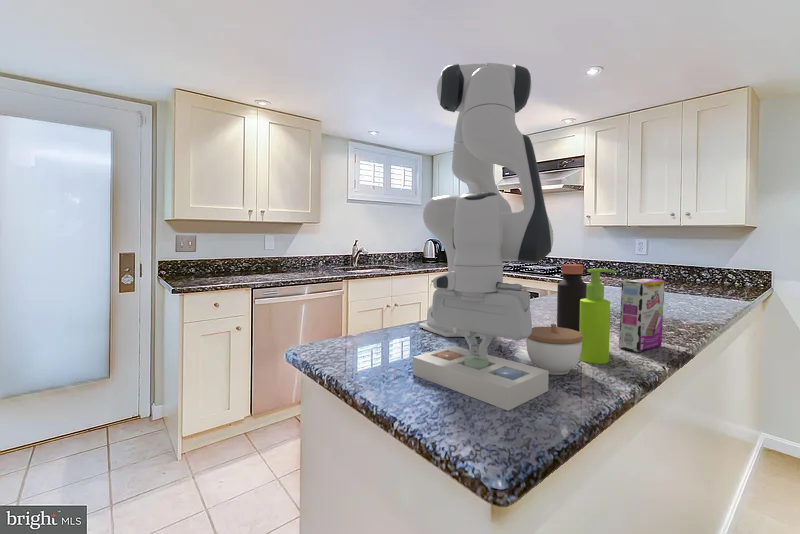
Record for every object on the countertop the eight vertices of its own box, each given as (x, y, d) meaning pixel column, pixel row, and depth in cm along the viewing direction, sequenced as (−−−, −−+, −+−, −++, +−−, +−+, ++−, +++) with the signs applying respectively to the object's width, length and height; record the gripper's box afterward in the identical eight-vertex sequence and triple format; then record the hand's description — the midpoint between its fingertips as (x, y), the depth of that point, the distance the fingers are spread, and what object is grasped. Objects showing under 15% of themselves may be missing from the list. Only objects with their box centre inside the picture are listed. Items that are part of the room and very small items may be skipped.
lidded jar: (539, 380, 73) (539, 331, 72) (517, 362, 84) (517, 319, 83) (593, 378, 74) (594, 329, 73) (565, 360, 85) (565, 318, 84)
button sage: (459, 373, 73) (459, 357, 72) (474, 368, 75) (474, 353, 75) (478, 379, 69) (478, 363, 69) (493, 374, 72) (493, 358, 72)
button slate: (490, 389, 67) (490, 372, 67) (505, 382, 70) (505, 366, 70) (512, 396, 64) (512, 378, 64) (527, 389, 67) (527, 372, 67)
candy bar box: (640, 353, 89) (642, 282, 88) (618, 348, 93) (620, 280, 92) (663, 346, 95) (665, 279, 94) (641, 341, 99) (643, 277, 98)
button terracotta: (432, 369, 78) (432, 354, 78) (447, 364, 81) (447, 350, 81) (449, 375, 75) (449, 359, 74) (464, 370, 77) (464, 355, 77)
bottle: (587, 342, 100) (588, 264, 98) (584, 348, 94) (585, 265, 92) (558, 338, 103) (560, 263, 102) (554, 345, 97) (555, 265, 96)
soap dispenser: (618, 364, 81) (620, 269, 80) (582, 363, 83) (584, 269, 81) (609, 356, 87) (611, 267, 86) (576, 355, 89) (577, 267, 87)
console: (412, 374, 77) (412, 356, 77) (453, 361, 85) (453, 345, 84) (508, 410, 60) (508, 388, 60) (548, 390, 68) (548, 370, 68)
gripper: (539, 283, 65) (539, 364, 66) (448, 276, 81) (448, 342, 81) (518, 286, 61) (518, 372, 62) (426, 278, 77) (427, 348, 77)
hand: (478, 355), depth 72 cm, fingers closed
